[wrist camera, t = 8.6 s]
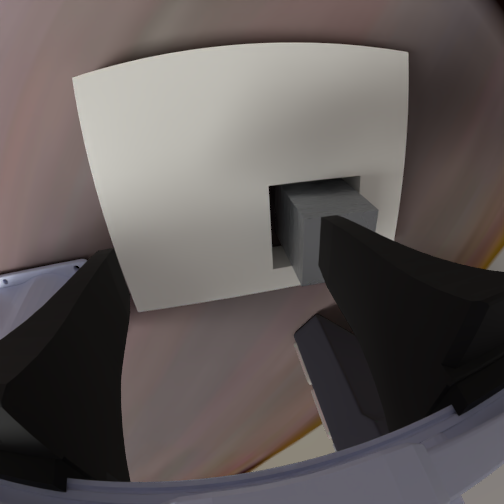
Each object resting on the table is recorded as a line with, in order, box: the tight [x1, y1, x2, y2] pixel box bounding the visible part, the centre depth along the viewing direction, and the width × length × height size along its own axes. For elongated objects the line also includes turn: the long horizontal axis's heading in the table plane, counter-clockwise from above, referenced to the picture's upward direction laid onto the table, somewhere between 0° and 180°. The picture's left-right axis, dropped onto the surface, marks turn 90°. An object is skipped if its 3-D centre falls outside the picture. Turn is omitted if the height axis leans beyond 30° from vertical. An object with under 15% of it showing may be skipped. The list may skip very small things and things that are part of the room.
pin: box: [274, 178, 379, 286], centre depth 18 cm, size 4×4×6 cm
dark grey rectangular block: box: [294, 314, 389, 452], centre depth 24 cm, size 11×4×15 cm, turn 49°
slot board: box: [72, 43, 409, 312], centre depth 18 cm, size 18×15×2 cm
